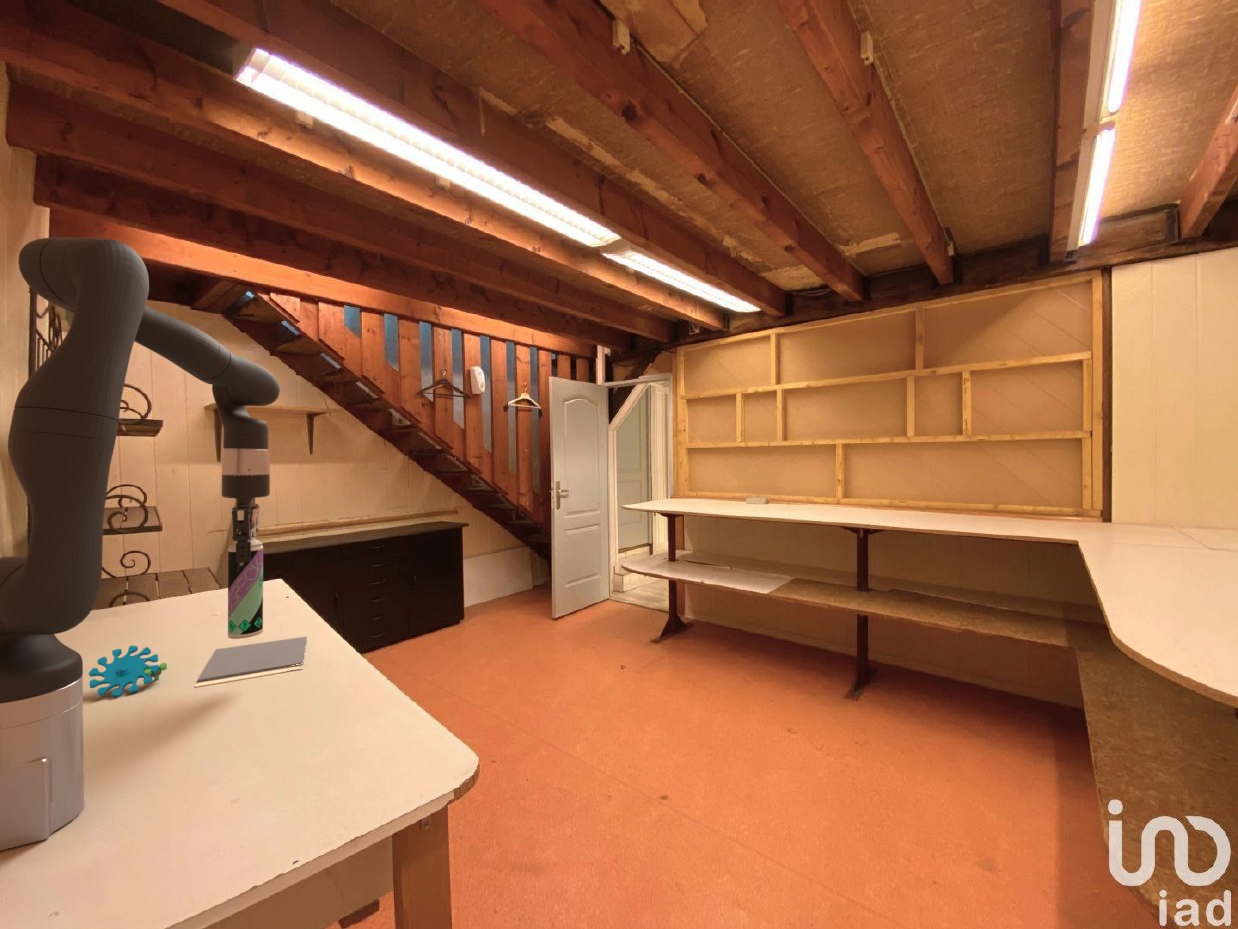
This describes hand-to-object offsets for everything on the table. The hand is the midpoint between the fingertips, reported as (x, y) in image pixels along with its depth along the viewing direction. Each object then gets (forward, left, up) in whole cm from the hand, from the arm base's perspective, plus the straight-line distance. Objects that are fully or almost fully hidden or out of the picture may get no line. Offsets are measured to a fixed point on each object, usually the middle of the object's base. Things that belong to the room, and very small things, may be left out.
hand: (245, 559), depth 98 cm
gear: (+12, +20, -26) cm, 35 cm away
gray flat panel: (+17, 0, -26) cm, 31 cm away
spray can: (0, 0, -15) cm, 15 cm away
